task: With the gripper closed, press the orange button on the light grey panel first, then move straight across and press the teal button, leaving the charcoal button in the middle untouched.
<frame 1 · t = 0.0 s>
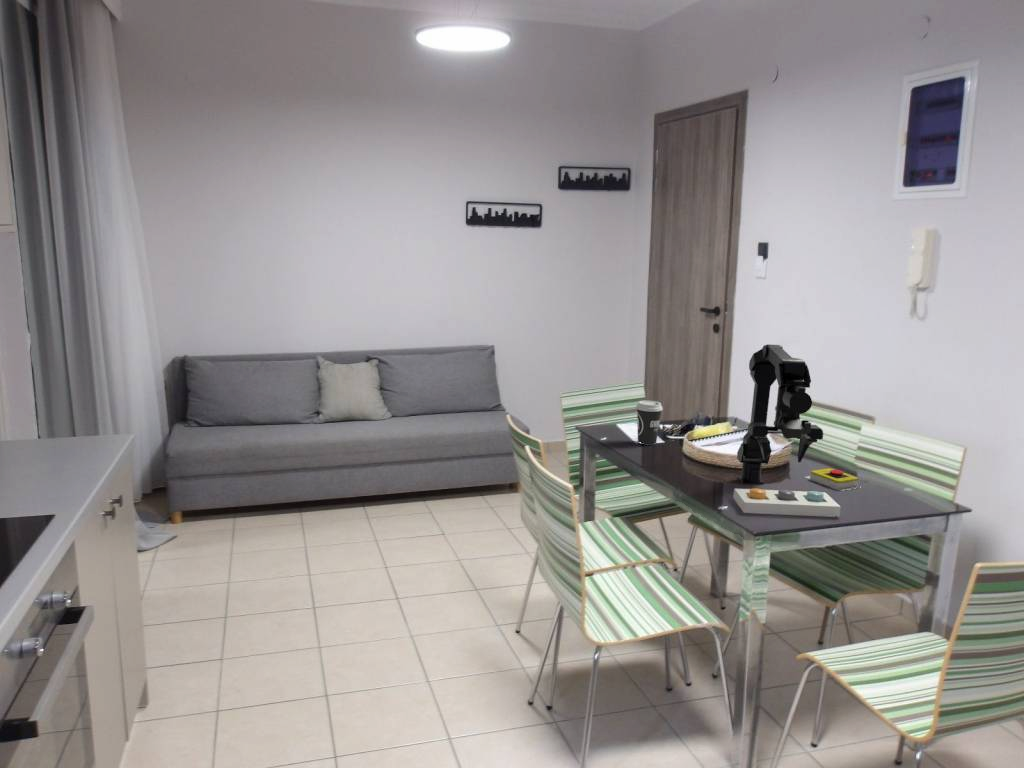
hand: (782, 461, 217), 15 cm above the table, tool pointing down, fingers open, 9 cm apart
charcoal button: (786, 496, 224), point 3 cm above the table, slide at 0.0 cm
emergency button: (832, 484, 249), on the table
teal button: (814, 497, 223), point 3 cm above the table, slide at 0.0 cm
orange button: (757, 495, 224), point 3 cm above the table, slide at 0.0 cm
coffee cup: (646, 443, 288), on the table
button panel: (785, 507, 224), on the table
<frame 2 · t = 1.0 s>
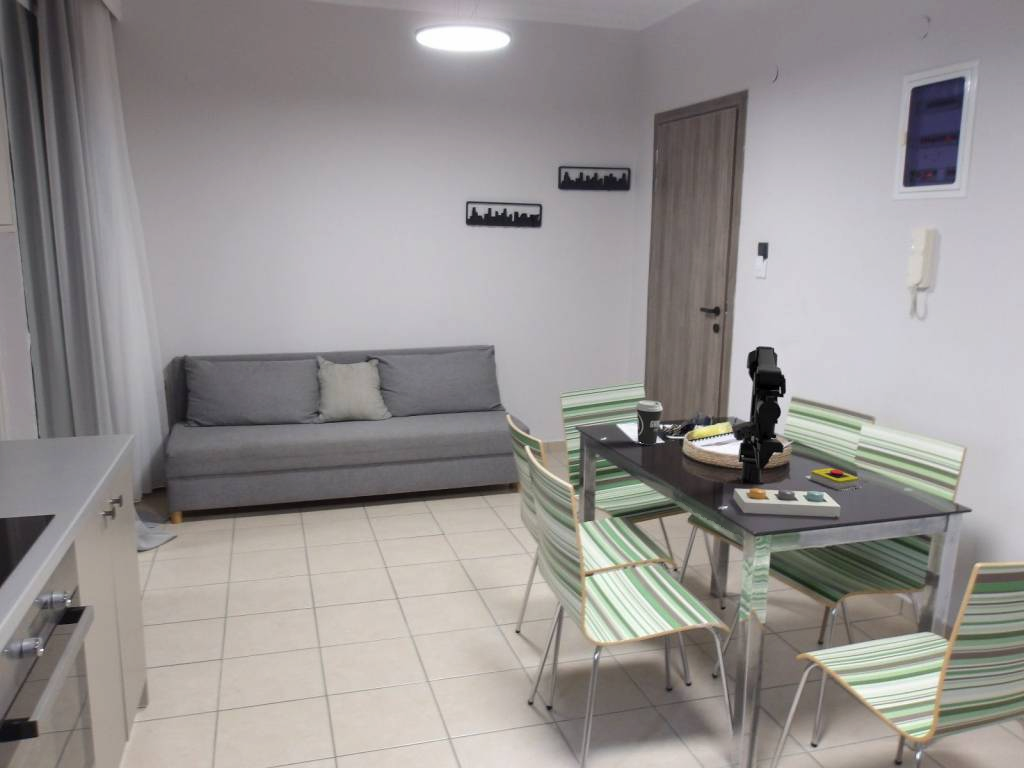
hand: (760, 468, 222), 11 cm above the table, tool pointing down, fingers closed
nothing on the table moved.
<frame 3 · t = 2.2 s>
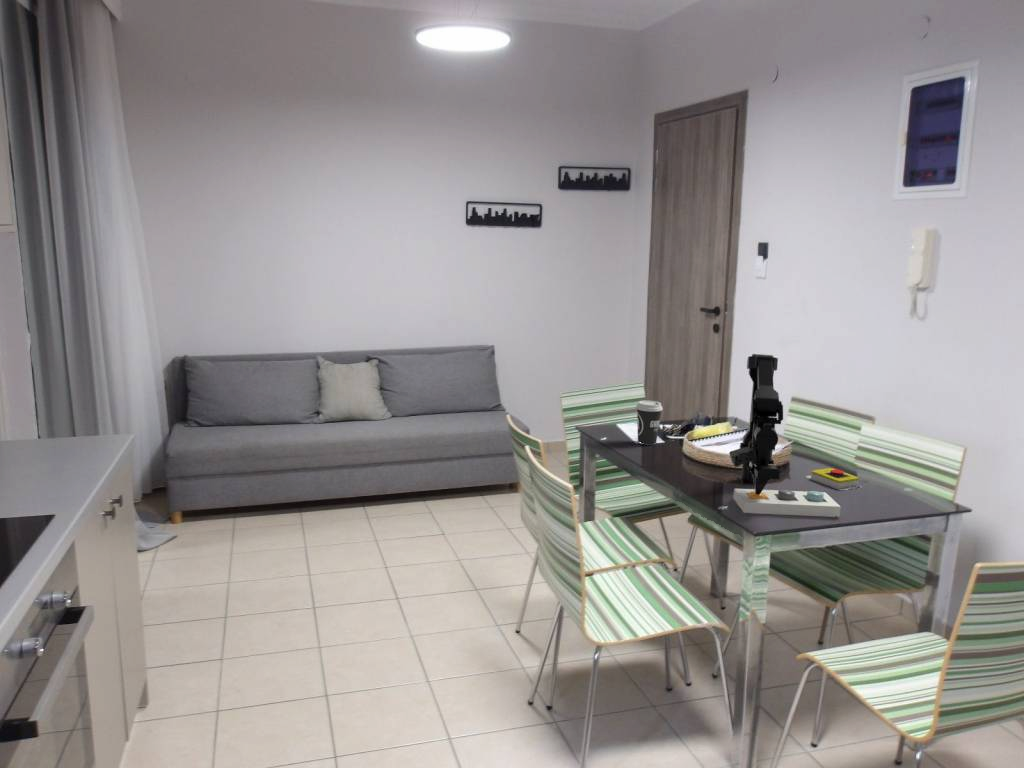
hand: (757, 493, 224), 4 cm above the table, tool pointing down, fingers closed, pressing on orange button
orange button: (757, 498, 224), point 2 cm above the table, slide at 0.9 cm, touching gripper
everything else where it was.
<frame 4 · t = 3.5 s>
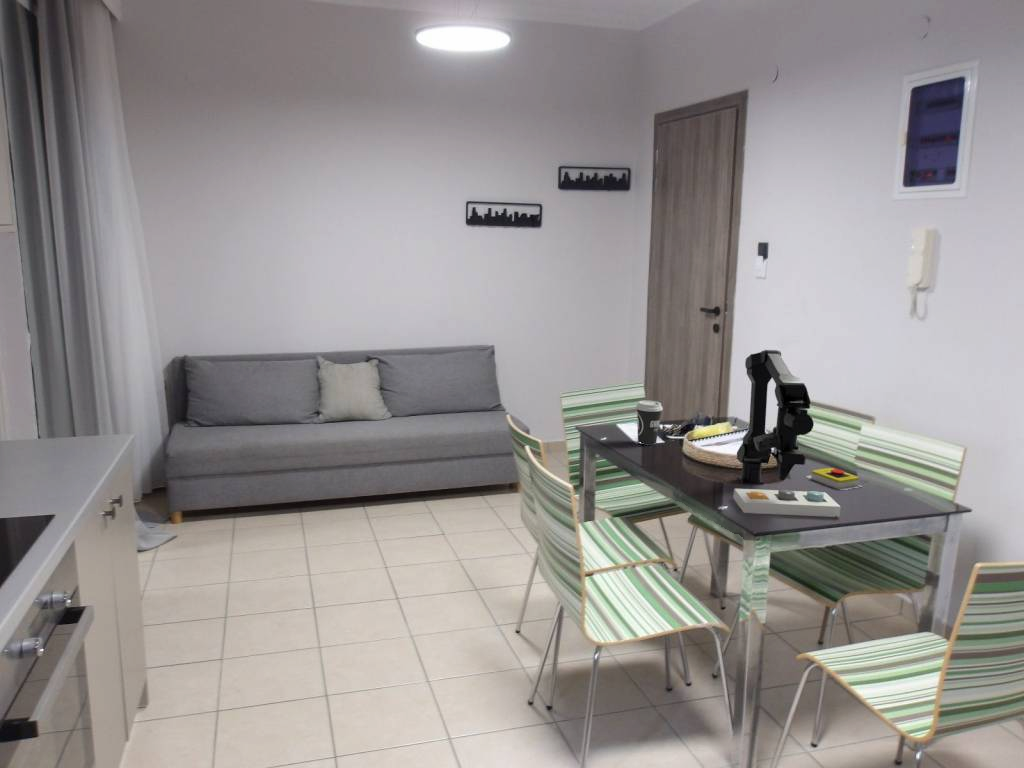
hand: (781, 480, 223), 8 cm above the table, tool pointing down, fingers closed
orange button: (757, 498, 224), point 2 cm above the table, slide at 0.9 cm
everything else where it was.
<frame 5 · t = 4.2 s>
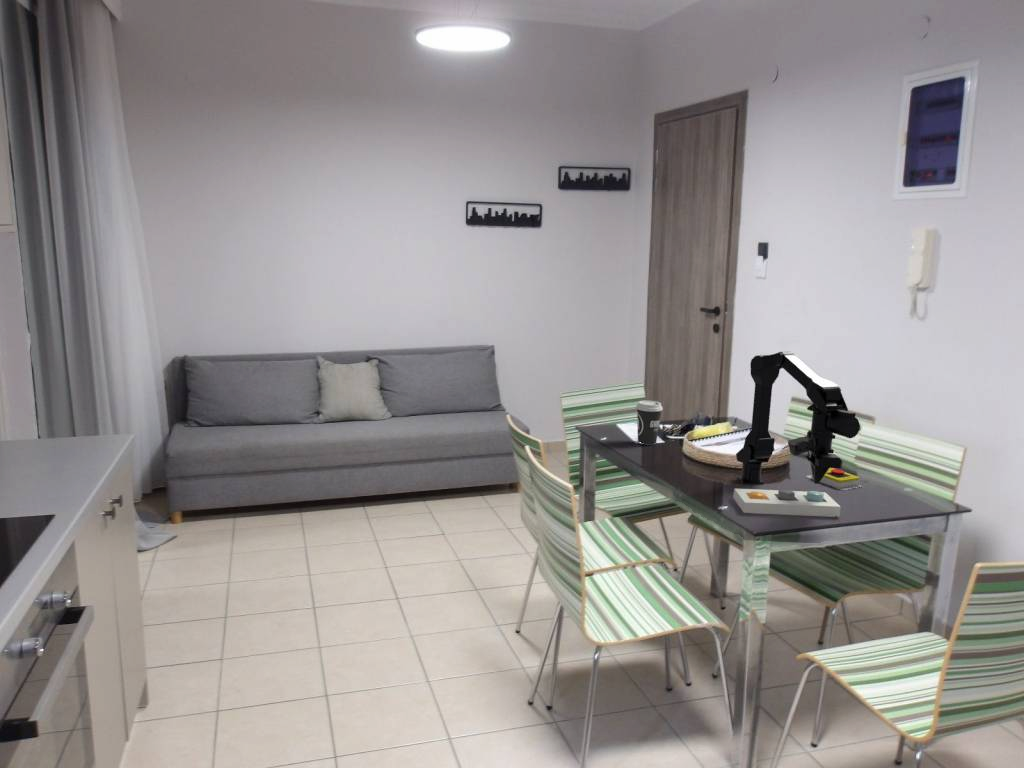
hand: (816, 483, 223), 7 cm above the table, tool pointing down, fingers closed
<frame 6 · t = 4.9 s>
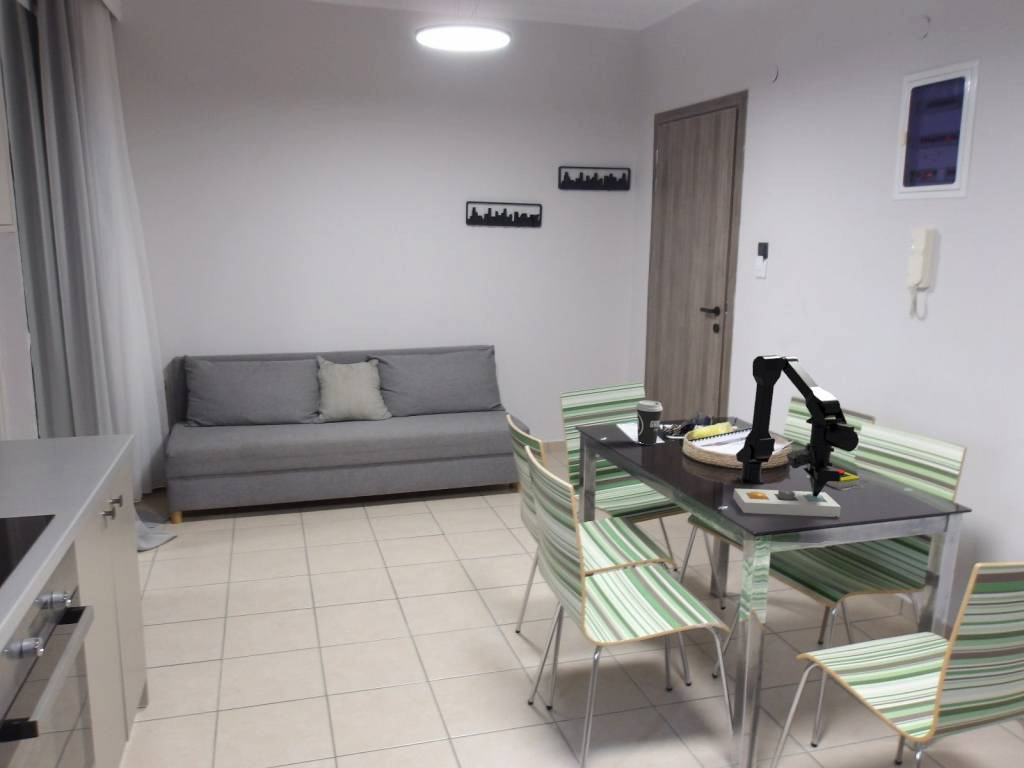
hand: (815, 496, 223), 4 cm above the table, tool pointing down, fingers closed, pressing on teal button
teal button: (814, 500, 224), point 2 cm above the table, slide at 0.8 cm, touching gripper
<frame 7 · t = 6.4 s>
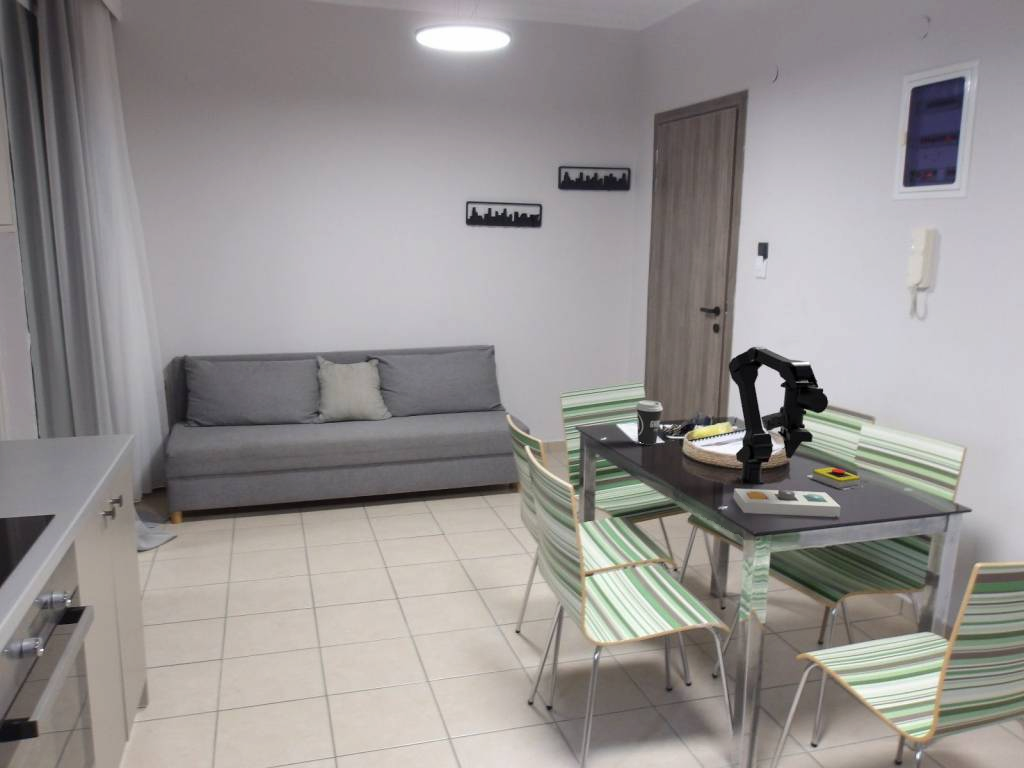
hand: (788, 457, 231), 12 cm above the table, tool pointing down, fingers closed
teal button: (814, 500, 224), point 2 cm above the table, slide at 0.9 cm
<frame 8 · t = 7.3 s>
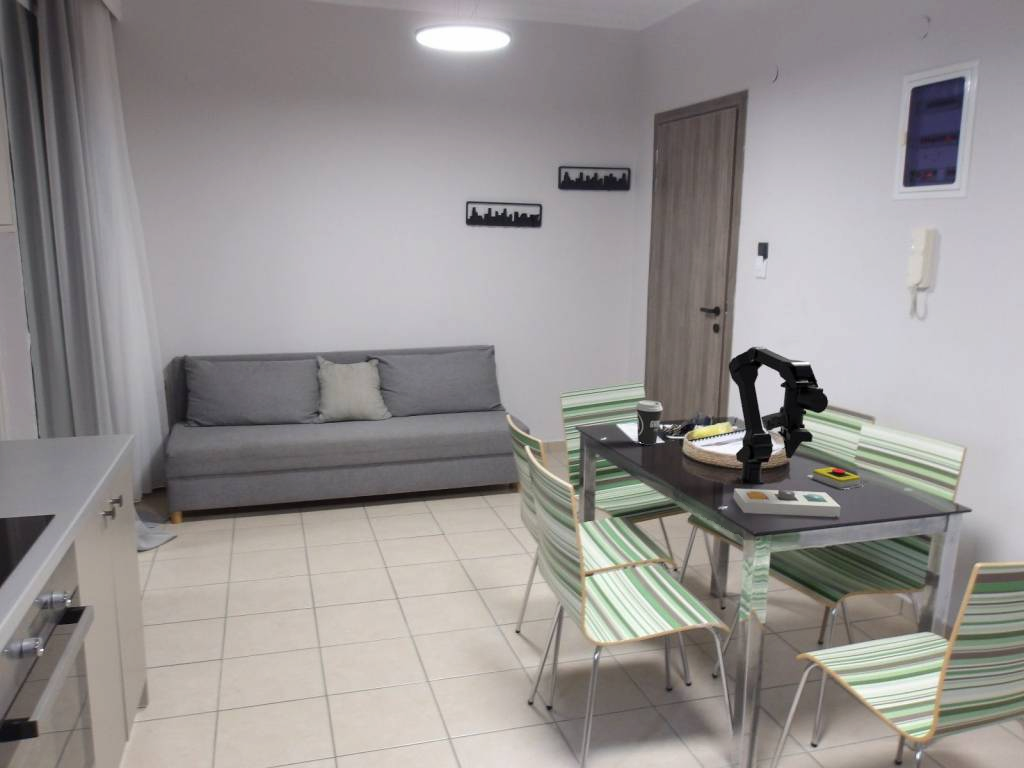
hand: (788, 457, 231), 12 cm above the table, tool pointing down, fingers closed
at the end: orange button slide at 0.9 cm; teal button slide at 0.9 cm; charcoal button slide at 0.0 cm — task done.
